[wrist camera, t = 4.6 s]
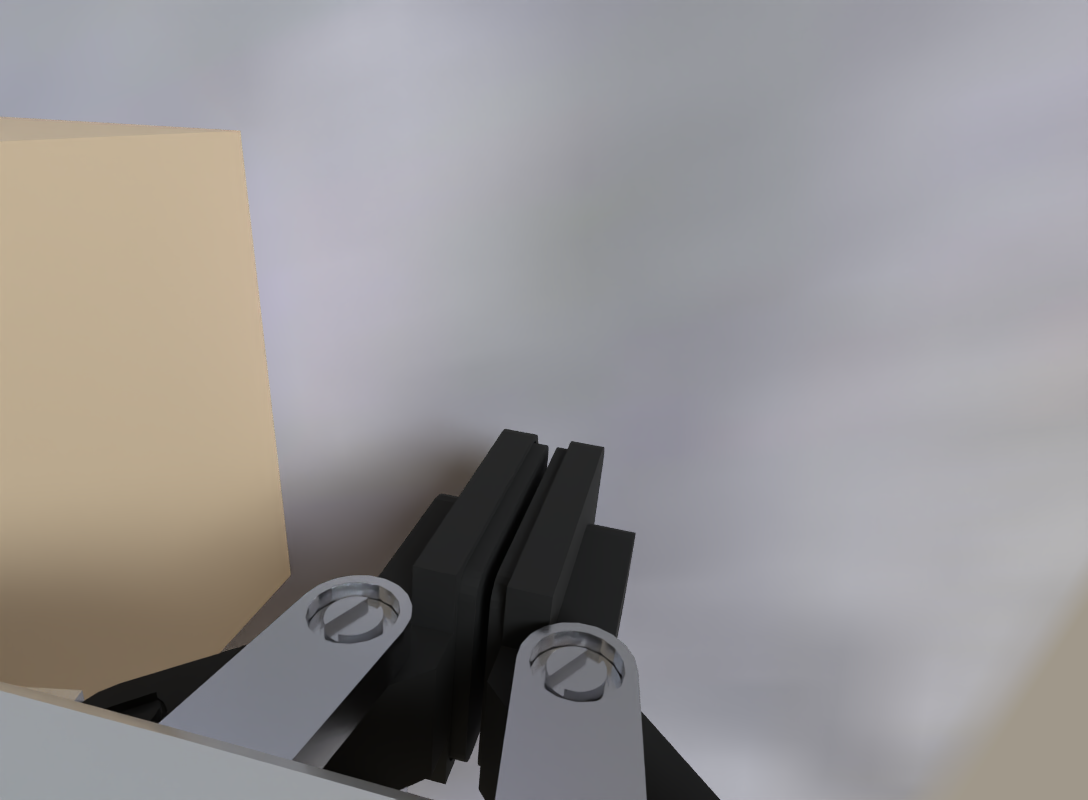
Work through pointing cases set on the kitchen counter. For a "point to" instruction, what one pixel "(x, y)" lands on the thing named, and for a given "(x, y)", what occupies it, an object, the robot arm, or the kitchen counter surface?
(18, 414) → the carton
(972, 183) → the kitchen counter surface
